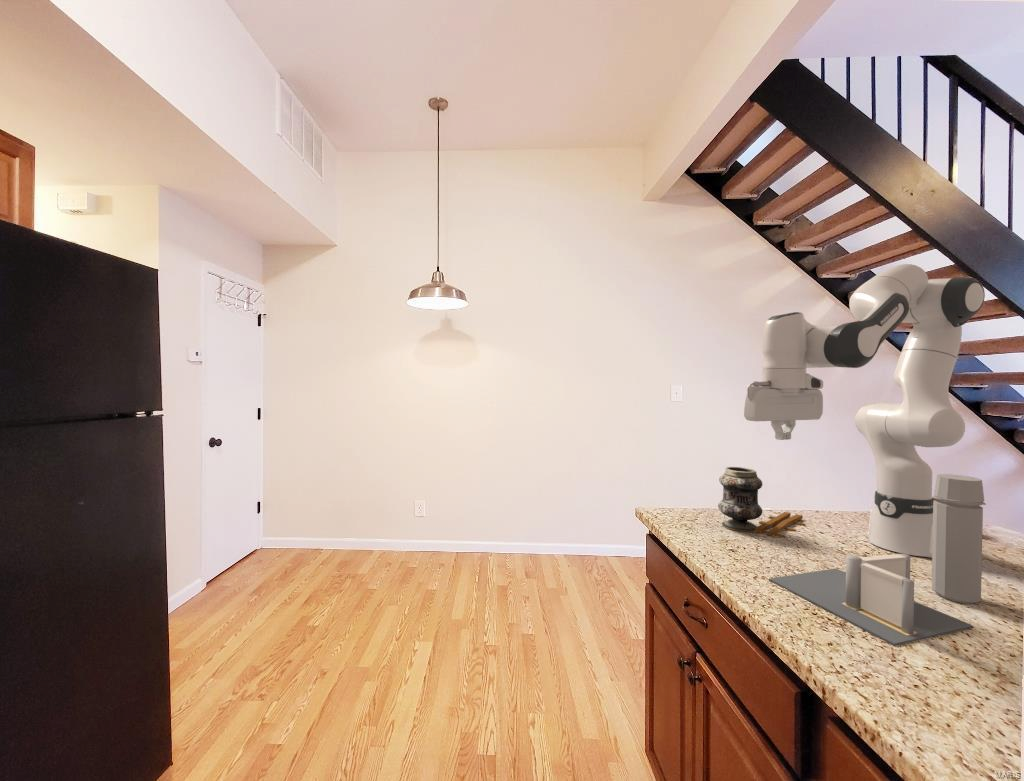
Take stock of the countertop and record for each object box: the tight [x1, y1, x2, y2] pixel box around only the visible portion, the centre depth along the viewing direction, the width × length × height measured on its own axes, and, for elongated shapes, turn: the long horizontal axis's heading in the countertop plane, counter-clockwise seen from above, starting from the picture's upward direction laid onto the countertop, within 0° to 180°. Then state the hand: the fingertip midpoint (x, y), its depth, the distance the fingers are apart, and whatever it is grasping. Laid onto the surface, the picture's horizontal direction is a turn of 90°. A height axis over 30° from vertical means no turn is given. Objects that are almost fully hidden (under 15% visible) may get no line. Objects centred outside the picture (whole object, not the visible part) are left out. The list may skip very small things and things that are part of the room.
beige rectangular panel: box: [858, 553, 912, 580], centre depth 86 cm, size 2×11×9 cm, turn 100°
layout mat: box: [768, 567, 974, 647], centre depth 87 cm, size 20×25×1 cm
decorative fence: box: [754, 511, 806, 539], centre depth 134 cm, size 25×2×10 cm
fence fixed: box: [845, 554, 915, 634], centre depth 80 cm, size 2×11×10 cm, turn 16°
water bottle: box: [931, 473, 987, 605], centre depth 90 cm, size 9×8×25 cm
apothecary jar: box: [717, 466, 763, 533], centre depth 132 cm, size 12×12×18 cm
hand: (783, 439), depth 102 cm, fingers closed
